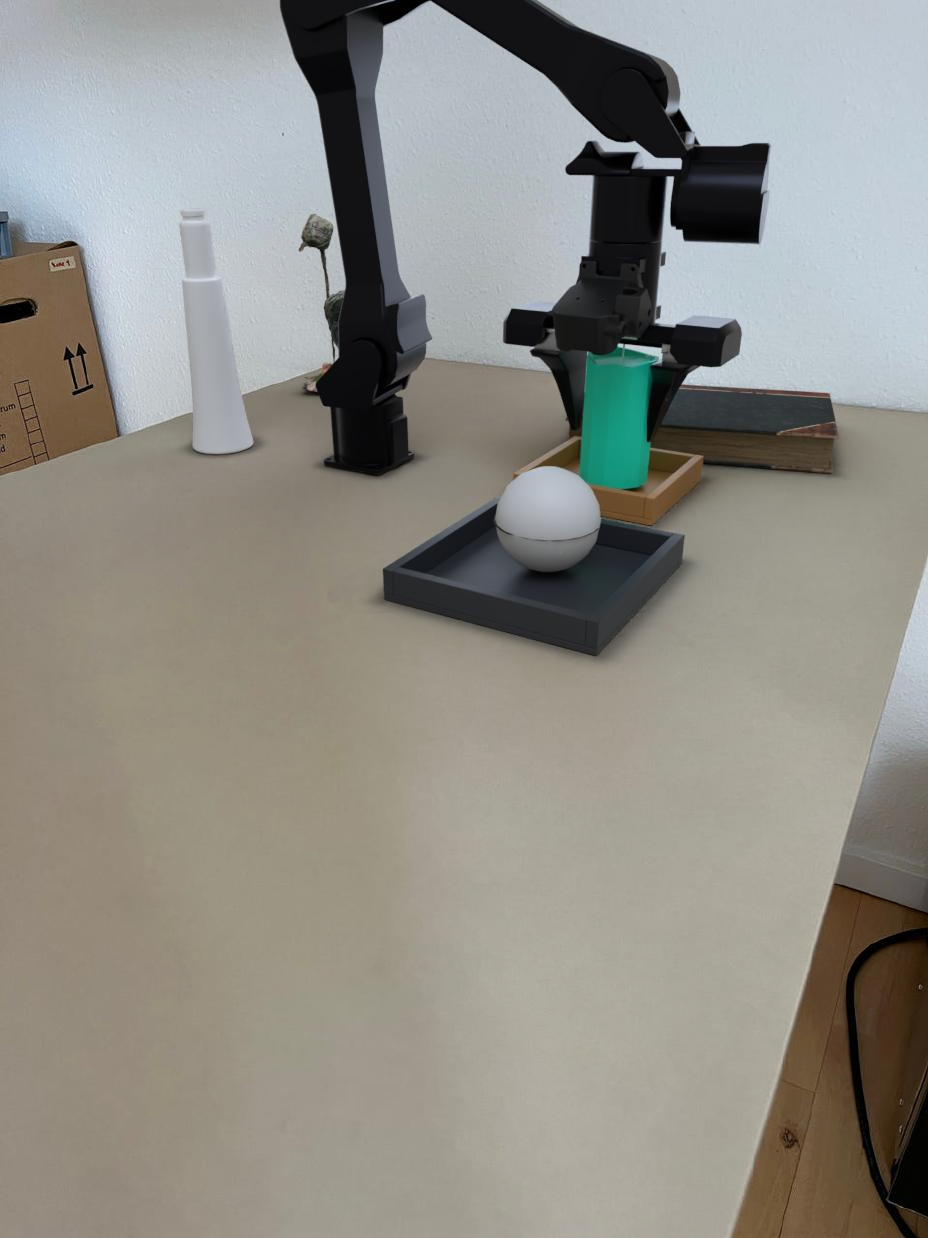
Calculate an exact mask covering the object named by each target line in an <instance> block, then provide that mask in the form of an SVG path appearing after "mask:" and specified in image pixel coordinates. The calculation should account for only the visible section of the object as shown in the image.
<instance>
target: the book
mask: <svg viewBox="0 0 928 1238" xmlns="http://www.w3.org/2000/svg"><path fill="white" fill-rule="evenodd" d="M584 397H585V393H584ZM834 411H835V410H834V407H833V402H832V397H831V393H829V392H817V391H802V390H786V389H769V388H768V389H767V388H765V389H764V388H749V387H730V386H716V385H715V386H714V385H713V386H712V385H695V384H681V386H680V388H679V389H678V391H677V393H676V395H675V397H674V399H673V401H672V403H671V405H670V407H669V409H668V411H667V413H666V415H665V417H664V419H663V421H662V423H661V425H660V427H659V429H658V431H657V433H656V435H655V437H654V439H653V440H652V441H651V445H650V448H656V449H662V450H669V451H675V452H682V453H688V454H694V455H701V456H704V459H703V464H709V465H710V464H711V465H721V466H734V467H745V468H760V469H770V470H783V471H784V470H785V471H797V472H810V473H820V474H821V473H823V474H832V473H833V472H834V469H833V463H832V462H833V461H832V452H833V451H832V450H833V445H834V441H835V440H839V438H840V435H839V431H838V427H837V421H836V416H835V412H834ZM583 412H584V407H583ZM564 420H565V421H566V422H569V421H568V418H567V417H565V419H564ZM568 425H569V424H568ZM582 427H583V414H582V419H581V425H580V428H579V429H578V430H576V431H573V430H571V428H570V425H569V428H568V440H569V439H571V438H572V437H574V436H578V437H582Z"/></svg>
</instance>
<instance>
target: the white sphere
mask: <svg viewBox="0 0 928 1238" xmlns="http://www.w3.org/2000/svg"><path fill="white" fill-rule="evenodd" d="M499 499H500V500H499V502H498V505H497V511H496V515H495V516H494V519H493V520H494V524H495V526H496V528H497V534H498V537H499V540H500V542H501V544H502V546H503V547H504V549H505V551H506V553H507V554H508V555H509V556H511V557H512V558H513V559H514V560H515V561H516V562H518V563H519V564H520V565H521V566H523V567H525V568H528V569H531V570H536V571H540V572H555V571H560V570H565V569H568V568H570V567H572V566H574V565H575V564H576V563H578V562H579V561H580V560H582V559H583V558H584V557H585V556H586V555H588V553H589V552H590V550H591V549H592V547H593V546H594V544H595V542H596V540H597V535H598V531H599V527H600V523H601V519H602V516H600V506H599V503H598V501H597V499H596V497H595V495H594V493H593V491H592V489H591V488H590V486H589V485H588V484H587V483H586V482H585V481H584V480H583V479H582V478H581V477H580V476H578V475H577V474H575V473H573V472H570V471H568V470H565V469H563V468H559V467H553V466H544V467H538V468H535V469H532V470H530V471H527V472H524V473H522V474H521V475H519V476H518V477H517V478H516V479H514V480H513V479H512V481H511V482H509V483H508V485H507V486H506V487H505V489H504V491H503V493H502V495H501V497H500V498H499Z"/></svg>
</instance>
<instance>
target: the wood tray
mask: <svg viewBox="0 0 928 1238" xmlns="http://www.w3.org/2000/svg"><path fill="white" fill-rule="evenodd" d="M581 442H582V437H578V436H574V437H572V438H571V439H569V438H568V440H566V441H564V442H563V443H561V444H559V445H557V446H556V447H555V448H553V449H551V450H549V451H548V452H546V453H545V454H542V455H541V456H540V457H538V458H537V459H535V460H533V461H532V462H530V463H528V464H526V465H525V466H523V467H522V468H519V469H518V470H517V471H514V473H513V474H512V481H513V480H514V479H516V478H517V477H518V476H519V475H521V474H522V473H524V472H527V471H530V470H532V469H535V468H538V467H544V466H553V467H559V468H563V469H565V470H568V471H570V472H573V473H575V474H577V475H578V476H579V472H580V457H581ZM703 459H704V456H701V455H694V454H688V453H682V452H675V451H669V450H662V449H656V448H650V454H649V464H648V474H647V482H646V483H644V484H642V485H641V486H639V487H635V488H628V489H615V488H609V487H604V486H598V485H592V484H588V485H589V486H590V488H591V489H592V491H593V493H594V495H595V497H596V499H597V501H598V503H599V506H600V516H601V517H603V518H604V517H605V518H610V519H615V520H620V521H625V522H631V523H636V524H640V525H645V526H646V525H647V526H651V527H652V526H653V525H654V524H655V523H657V521H658V520H660V519H661V518H663V516H664V515H665V514H666V513H667V512H669V510H671V509H672V508H673V507H674V506H675V505H676V504H677V503H678V502H679V501H680V500H682V498H683V497H685V496H686V495H687V494H688V493H689V492H690V491H691V490H692V489H693V488H694V487H696V485H698V484H699V483H700V482H701V481H702V478H703V477H702V476H703V467H704V463H703Z"/></svg>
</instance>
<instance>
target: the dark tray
mask: <svg viewBox="0 0 928 1238" xmlns="http://www.w3.org/2000/svg"><path fill="white" fill-rule="evenodd" d="M499 500H500V498H499V497H494V498H493V499H490V500H489V501H488V502H486V503H485V504H483V505H481V506H480V507H478V508H476V509H475V510H474V511H472V512H470V513H468V514H467V515H466V516H463V517H462V518H461V519H459V520H458V521H456V522H454V523H453V524H451V525H450V526H448V527H447V528H445V529H443V530H442V531H440V532H439V533H437V534H435V535H434V536H433V537H431V538H429V539H428V540H426V541H424V542H423V543H421V544H420V545H418V546H417V547H415V548H414V549H411V550H410V551H409V552H407V553H406V554H404V555H403V556H401V557H399V558H398V559H395V560H394V561H393V562H391V563H390V564H388V565H386V566H385V567H383V568H382V581H383V582H382V583H383V584H382V585H383V594H384V595H383V599H384V600H386V601H390V602H393V603H396V604H401V605H404V606H408V607H412V608H415V609H419V610H423V611H428V612H431V613H434V614H437V615H441V616H446V617H449V618H453V619H457V620H461V621H464V622H468V623H472V624H476V625H479V626H482V627H486V628H489V629H490V628H491V629H495V630H498V631H502V632H505V633H509V634H512V635H516V636H521V637H524V638H528V639H531V640H535V641H540V642H542V643H547V644H550V645H553V646H554V645H555V646H559V647H561V648H566V649H570V650H573V651H576V652H580V653H584V654H588V655H592V656H598V655H599V654H600V653H601V652H602V651H603V650H604V648H606V646H607V645H609V643H610V642H611V641H612V640H613V639H614V637H616V636H617V634H618V633H619V632H620V631H621V630H622V629H623V628H624V627H625V626H626V624H627V623H628V622H630V620H632V618H633V617H634V616H635V615H636V614H637V613H638V612H639V611H640V609H641V608H643V606H644V605H645V604H646V603H647V602H648V601H649V600H650V599H651V598H652V596H653V595H654V594H655V593H656V592H657V591H658V590H659V589H660V588H661V587H662V585H663V584H665V583H666V581H667V580H668V579H669V578H670V577H671V576H672V575H673V574H674V572H676V571H677V569H679V567H680V566H681V565H682V563H683V555H684V548H685V547H684V546H685V538H686V535H685V534H684V533H683V534H682V533H677V532H671V531H665V530H662V529H656V528H652V527H651V528H650V527H645V526H642V525H641V526H640V525H636V524H630V523H625V522H620V521H615V520H609V519H604V518H601V523H600V527H599V531H598V535H597V540H596V542H595V544H594V546H593V547H592V549H591V550H590V552H589V553H588V555H586V556H585V557H584V558H583V559H582V560H580V561H579V562H578V563H576V564H575V565H574V566H572V567H570V568H568V569H565V570H560V571H555V572H540V571H536V570H531V569H528V568H525V567H523V566H521V565H520V564H519V563H518V562H516V561H515V560H514V559H513V558H512V557H511V556H509V555H508V554H507V553H506V551H505V549H504V547H503V546H502V544H501V542H500V540H499V537H498V534H497V528H496V526H495V524H494V520H493V519H494V516H495V515H496V511H497V505H498V502H499Z"/></svg>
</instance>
